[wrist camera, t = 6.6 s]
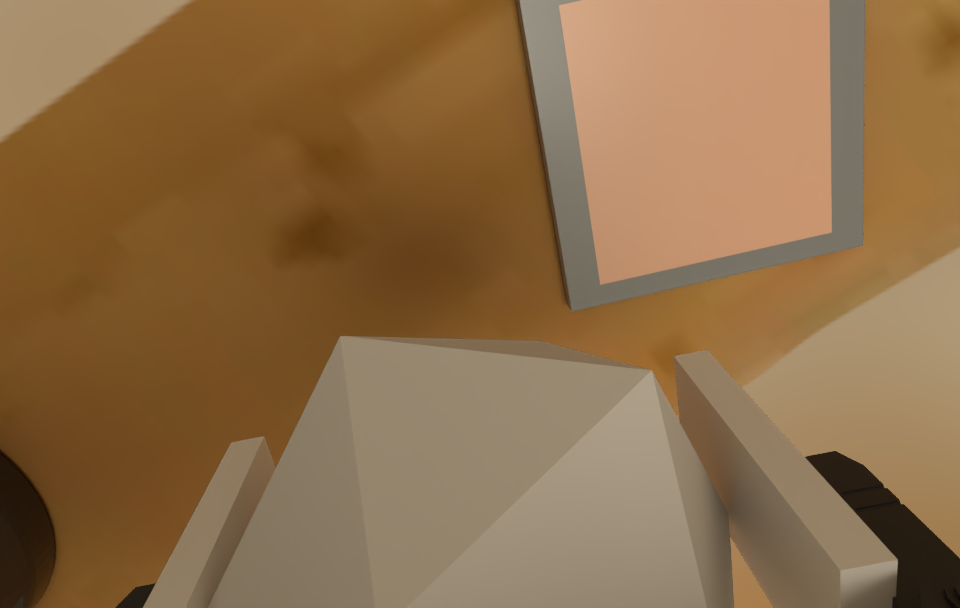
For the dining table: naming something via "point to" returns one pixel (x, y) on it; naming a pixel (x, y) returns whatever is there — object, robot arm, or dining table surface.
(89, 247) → the dining table surface
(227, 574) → the die
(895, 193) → the dining table surface
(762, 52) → the base plate
